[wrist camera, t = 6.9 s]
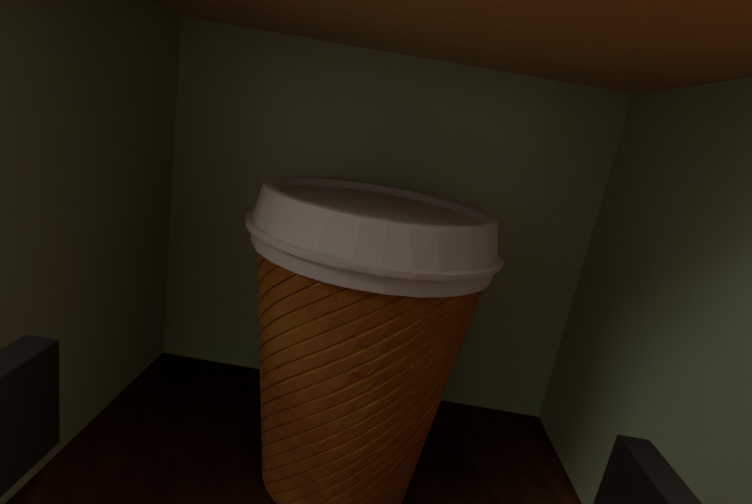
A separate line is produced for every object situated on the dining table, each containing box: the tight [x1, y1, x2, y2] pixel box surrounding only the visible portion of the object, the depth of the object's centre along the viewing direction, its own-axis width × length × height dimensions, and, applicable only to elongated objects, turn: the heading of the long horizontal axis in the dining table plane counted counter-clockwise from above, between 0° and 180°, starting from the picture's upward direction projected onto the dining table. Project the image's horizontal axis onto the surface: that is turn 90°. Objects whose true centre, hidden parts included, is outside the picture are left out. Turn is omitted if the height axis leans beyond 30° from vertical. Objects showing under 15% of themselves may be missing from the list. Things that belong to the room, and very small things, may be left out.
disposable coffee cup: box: [245, 176, 505, 504], centre depth 19 cm, size 10×10×12 cm
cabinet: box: [0, 0, 752, 504], centre depth 19 cm, size 15×24×19 cm, turn 88°
